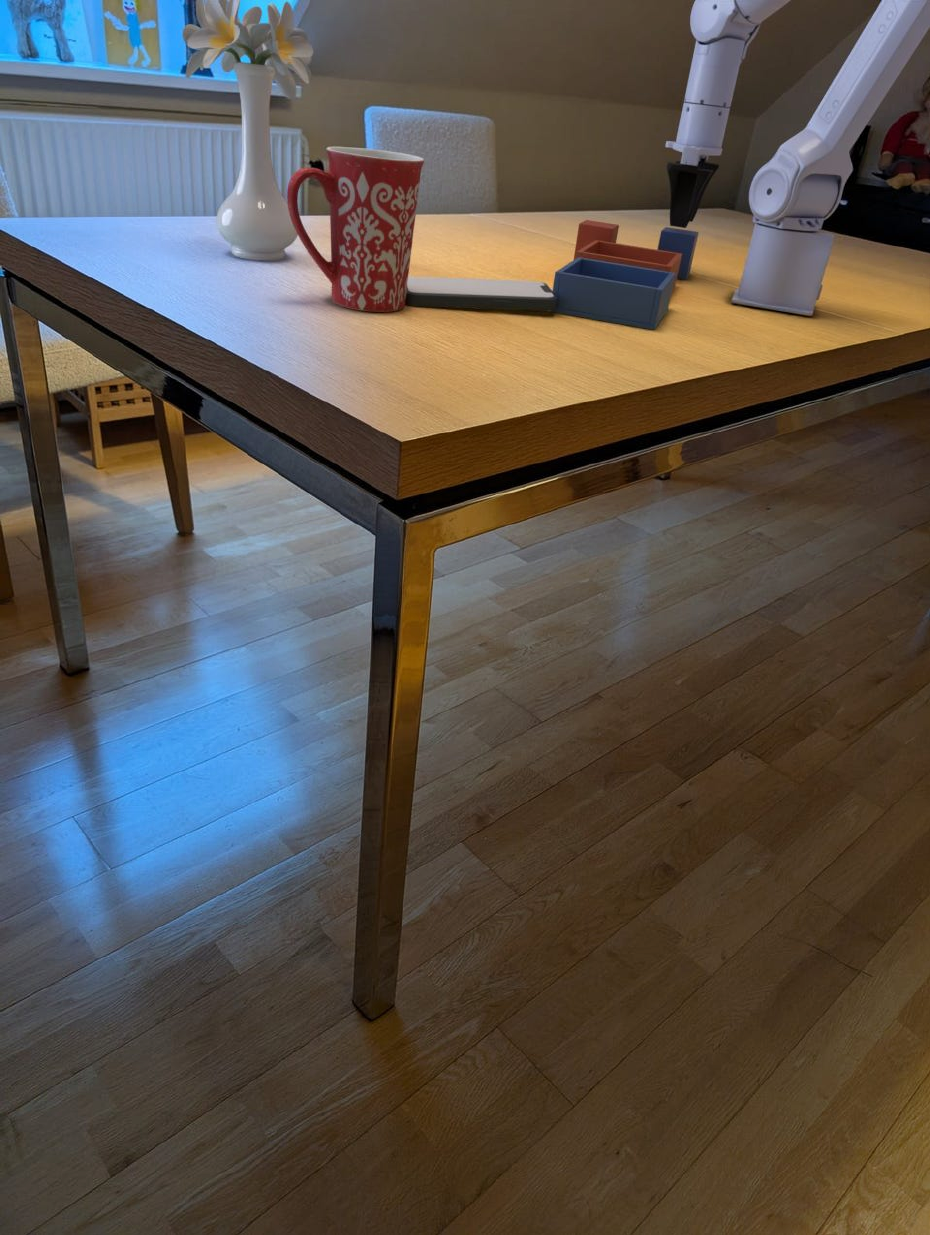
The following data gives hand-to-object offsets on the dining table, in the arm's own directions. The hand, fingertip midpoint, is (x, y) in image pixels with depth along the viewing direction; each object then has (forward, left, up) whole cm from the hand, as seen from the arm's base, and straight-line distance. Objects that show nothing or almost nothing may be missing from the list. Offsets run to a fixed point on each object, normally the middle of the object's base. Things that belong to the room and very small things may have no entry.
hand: (681, 223), depth 116 cm
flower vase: (+45, +32, -7) cm, 56 cm away
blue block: (0, 0, -6) cm, 6 cm away
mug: (+26, +46, -7) cm, 53 cm away
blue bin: (+3, +29, -6) cm, 30 cm away
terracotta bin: (+4, +14, -6) cm, 16 cm away
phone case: (+16, +36, -7) cm, 40 cm away
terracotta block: (+10, +5, -6) cm, 13 cm away
